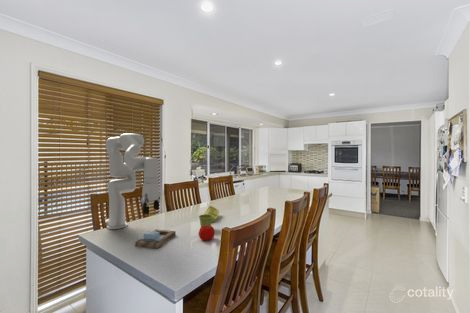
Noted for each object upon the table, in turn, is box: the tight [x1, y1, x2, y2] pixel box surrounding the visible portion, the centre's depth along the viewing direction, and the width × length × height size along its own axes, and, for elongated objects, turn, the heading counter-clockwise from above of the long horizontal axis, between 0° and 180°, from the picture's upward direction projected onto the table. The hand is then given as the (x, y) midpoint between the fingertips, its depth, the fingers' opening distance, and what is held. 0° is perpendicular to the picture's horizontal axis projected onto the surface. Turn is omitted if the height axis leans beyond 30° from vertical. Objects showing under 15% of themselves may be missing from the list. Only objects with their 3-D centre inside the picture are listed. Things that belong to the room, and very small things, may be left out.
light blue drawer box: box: [140, 230, 163, 242], centre depth 128 cm, size 11×4×6 cm, turn 78°
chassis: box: [134, 229, 177, 250], centre depth 133 cm, size 13×20×3 cm, turn 167°
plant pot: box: [198, 213, 213, 228], centre depth 152 cm, size 9×9×9 cm
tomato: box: [198, 225, 216, 242], centre depth 135 cm, size 9×9×8 cm
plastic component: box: [204, 205, 220, 223], centre depth 177 cm, size 20×7×10 cm
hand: (151, 211), depth 128 cm, fingers open, 9 cm apart
